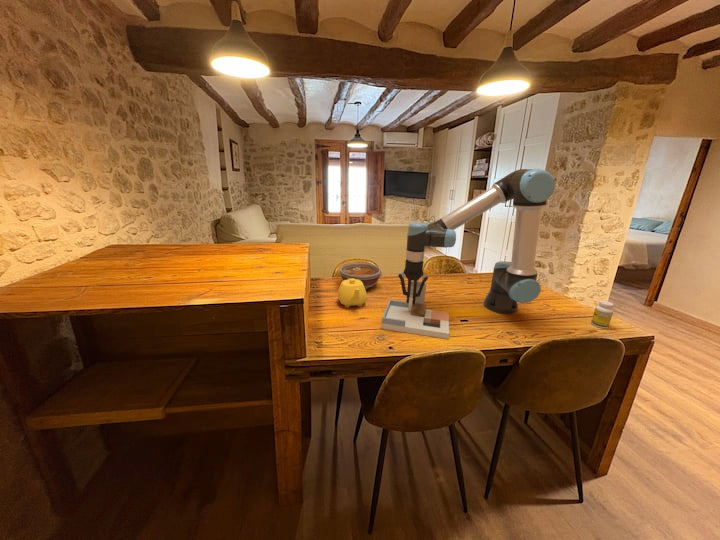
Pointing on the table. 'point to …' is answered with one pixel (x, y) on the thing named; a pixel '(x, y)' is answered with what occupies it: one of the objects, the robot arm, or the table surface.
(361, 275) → the bowl
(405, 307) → the deck
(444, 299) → the table surface
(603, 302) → the pill bottle
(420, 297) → the mug
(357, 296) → the teapot
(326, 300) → the table surface
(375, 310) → the table surface
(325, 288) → the table surface
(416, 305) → the walnut block
